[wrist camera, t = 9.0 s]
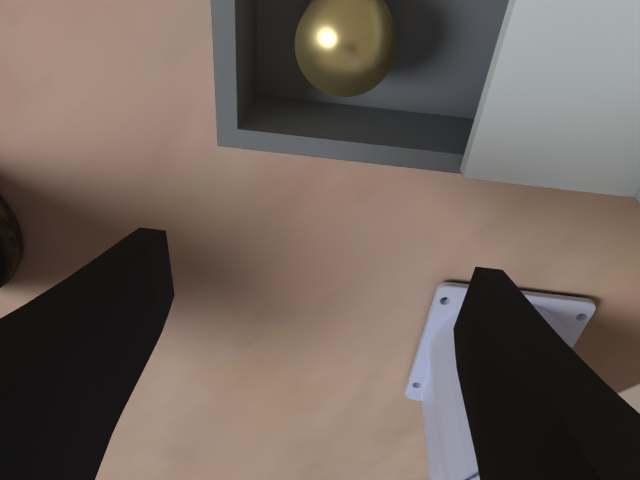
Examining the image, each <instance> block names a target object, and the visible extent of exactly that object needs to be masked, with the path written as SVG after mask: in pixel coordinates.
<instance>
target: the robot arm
mask: <svg viewBox="0 0 640 480" xmlns="http://www.w3.org/2000/svg"><path fill="white" fill-rule="evenodd" d="M443 297H447V299H441V298H443ZM173 298H174V289H173V281H172V274H171V267H170V259H169V252H168V244H167V237H166V231H165V230H156V229H147V228H139V229H137V230H135V231H134V232H132V233H131V234H129V235H128V236H127V237H125V238H124V239H122V240H121V241H119V242H118V243H117V244H115V245H114V246H112V247H111V248H110V249H108V250H107V251H105V252H104V253H103V254H101V255H100V256H98V257H97V258H95V259H94V260H93V261H91V262H90V263H88V264H87V265H85V266H84V267H82V268H81V269H80V270H78V271H77V272H75V273H74V274H72V275H71V276H69V277H68V278H66V279H65V280H63V281H62V282H60V283H58V284H57V285H55V286H54V287H52V288H50V289H49V290H47V291H46V292H44V293H43V294H41V295H39V296H38V297H36V298H35V299H33V300H31V301H30V302H28V303H27V304H25V305H23V306H22V307H20V308H18V309H16V310H15V311H13V312H11V313H9V314H8V315H6V316H4V317H2V318H0V480H95V478H96V475H97V473H98V470H99V467H100V465H101V462H102V459H103V457H104V454H105V451H106V449H107V446H108V444H109V441H110V438H111V436H112V433H113V431H114V429H115V427H116V424H117V422H118V420H119V418H120V416H121V414H122V412H123V410H124V408H125V406H126V404H127V402H128V400H129V398H130V396H131V394H132V392H133V390H134V388H135V386H136V384H137V382H138V380H139V378H140V376H141V374H142V372H143V370H144V368H145V366H146V364H147V362H148V360H149V358H150V356H151V354H152V352H153V350H154V348H155V346H156V344H157V341H158V339H159V337H160V335H161V333H162V330H163V328H164V325H165V322H166V319H167V316H168V313H169V310H170V307H171V304H172V301H173ZM595 310H596V306H595V304H594V302H593V301H592V300H591V299H588V298H580V297H572V296H563V295H555V294H546V293H538V292H529V291H521V290H519V288H518V287H517V286H516V285H515V284H514V283H513V281H512V280H511V279H510V278H509V277H508V276H507V274H506V273H505V272H504V271H503V270H499V269H490V268H482V267H475V270H474V273H473V276H472V278H471V281H470V284H461V283H453V282H444V283H441V284H440V285H438V287H437V289H436V292H435V295H434V298H433V302H432V305H431V308H430V311H429V314H428V318H427V321H426V324H425V327H424V330H423V334H422V337H421V340H420V343H419V346H418V350H417V353H416V356H415V359H414V363H413V366H412V369H411V372H410V375H409V379H408V382H407V385H406V388H405V396H406V397H407V398H408V399H411V400H418V401H421V402H422V412H423V421H424V431H425V440H426V450H427V459H428V469H429V479H430V480H640V414H639V413H638V412H637V411H636V410H635V409H634V408H632V407H631V406H630V405H629V404H628V403H627V402H626V401H625V400H623V399H622V398H621V397H620V396H619V395H618V394H617V393H616V392H614V391H613V390H612V389H611V388H610V387H609V386H608V385H607V384H606V383H605V382H604V381H603V380H602V379H601V378H600V377H599V376H598V375H597V374H596V373H595V372H594V371H593V370H592V369H591V368H590V367H589V366H588V365H587V364H586V363H585V362H584V361H583V360H582V359H581V358H580V357H579V356H578V355H577V354H576V353H575V352H574V351H573V347H574V345H575V343H576V342H577V340H578V338H579V337H580V335H581V334H582V332H583V330H584V329H585V327H586V325H587V324H588V322H589V320H590V319H591V317H592V315H593V314H594V312H595ZM579 314H581V315H579Z"/></svg>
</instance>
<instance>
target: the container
mask: <svg viewBox="0 0 640 480" xmlns="http://www.w3.org/2000/svg"><path fill="white" fill-rule="evenodd" d="M21 257H22V238H21V234H20V230H19V227H18V225H17V223H16V221H15V218H14V217H13V215H12V213H11V211H10V210H9V208H8V207H7V205H6V204H5V203H4V202H3V200H2V199H1V198H0V288H1V287H2V286H3V285H5V284H6V283H7V282H8V281H9V280H10V279H11V278H12V277H13V275H14V273H15V272H16V270H17V268H18V265H19V263H20V260H21Z"/></svg>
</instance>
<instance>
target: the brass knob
mask: <svg viewBox="0 0 640 480" xmlns="http://www.w3.org/2000/svg"><path fill="white" fill-rule="evenodd" d="M396 46H397V44H396V33H395V27H394V22H393V17H392V13H391V9H390V6H389V4H388V2H387V0H310V2H309V4H308V6H307V8H306V10H305V12H304V14H303V16H302V18H301V20H300V22H299V24H298V27H297V31H296V35H295V54H296V58H297V62H298V65H299V67H300V69H301V71H302V73H303V74H304V76H305V77H306V78H307V80H308V81H309V82H310V83H311V84H312V85H313V86H315V87H316V88H317V89H319V90H320V91H322V92H324V93H326V94H329V95H332V96H337V97H353V96H358V95H361V94H364V93H366V92H368V91H370V90H371V89H373V88H374V87H376V86H377V85H378V84H379V83H380V82H381V81H382V80H383V79H384V78H385V77H386V75H387V74H388V72H389V70H390V68H391V67H392V64H393V61H394V58H395V54H396Z"/></svg>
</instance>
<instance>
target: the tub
mask: <svg viewBox="0 0 640 480" xmlns="http://www.w3.org/2000/svg"><path fill="white" fill-rule="evenodd" d="M309 2H310V0H211V16H212V37H213V58H214V79H215V100H216V120H217V141H218V146H223V147H232V148H241V149H250V150H258V151H267V152H276V153H285V154H294V155H302V156H311V157H320V158H329V159H338V160H346V161H355V162H364V163H373V164H381V165H390V166H399V167H408V168H417V169H425V170H434V171H443V172H452V173H461V172H460V167H461V164H462V160H463V157H464V153H465V150H466V146H467V143H468V140H469V136H470V133H471V129H472V126H473V122H474V119H475V116H476V112H477V109H478V105H479V102H480V98H481V95H482V92H483V88H484V85H485V81H486V78H487V74H488V71H489V68H490V64H491V61H492V57H493V54H494V50H495V47H496V44H497V40H498V37H499V33H500V30H501V26H502V23H503V20H504V16H505V13H506V9H507V6H508V2H509V0H387V2H388V4H389V6H390V9H391V13H392V17H393V22H394V27H395V33H396V44H397V46H396V54H395V58H394V61H393V64H392V67H391V68H390V70H389V72H388V74H387V75H386V77H385V78H384V79H383V80H382V81H381V82H380V83H379V84H378V85H377V86H376V87H374V88H373V89H371V90H370V91H368V92H366V93H364V94H361V95H358V96H353V97H337V96H332V95H329V94H326V93H324V92H322V91H320V90H319V89H317V88H316V87H315V86H313V85H312V84H311V83H310V82H309V81H308V80H307V78H306V77H305V76H304V74H303V73H302V71H301V69H300V67H299V65H298V62H297V58H296V54H295V35H296V31H297V27H298V24H299V22H300V20H301V18H302V16H303V14H304V12H305V10H306V8H307V6H308V4H309Z"/></svg>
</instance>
